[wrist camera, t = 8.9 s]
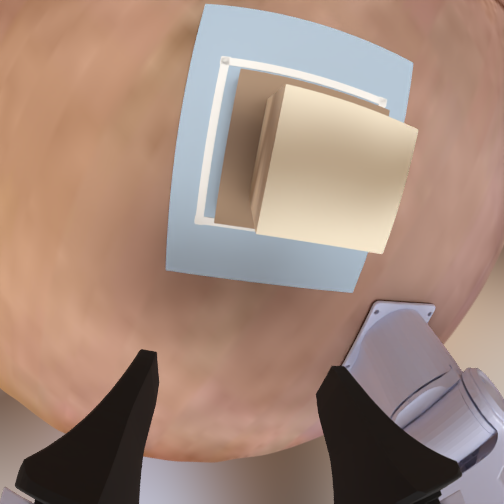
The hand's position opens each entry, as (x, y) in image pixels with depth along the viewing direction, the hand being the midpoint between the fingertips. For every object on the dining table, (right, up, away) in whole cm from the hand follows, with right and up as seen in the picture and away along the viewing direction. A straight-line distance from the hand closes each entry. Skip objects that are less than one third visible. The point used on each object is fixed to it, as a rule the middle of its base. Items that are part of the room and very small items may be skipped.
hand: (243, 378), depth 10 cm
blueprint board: (+3, +11, +6) cm, 13 cm away
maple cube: (+3, +10, +3) cm, 11 cm away
